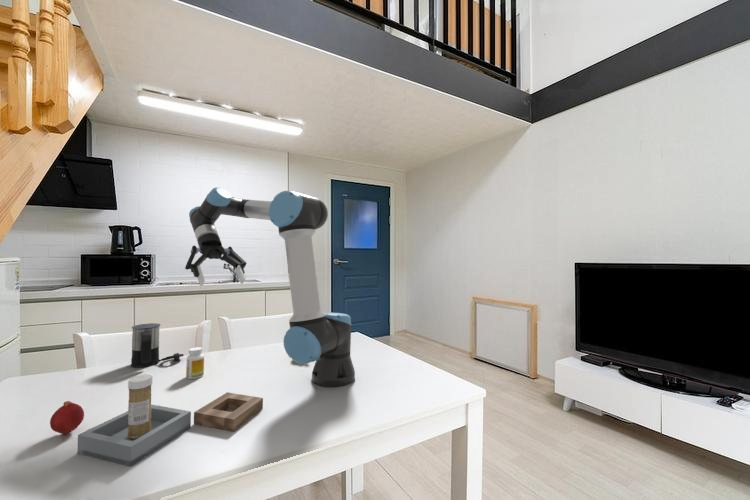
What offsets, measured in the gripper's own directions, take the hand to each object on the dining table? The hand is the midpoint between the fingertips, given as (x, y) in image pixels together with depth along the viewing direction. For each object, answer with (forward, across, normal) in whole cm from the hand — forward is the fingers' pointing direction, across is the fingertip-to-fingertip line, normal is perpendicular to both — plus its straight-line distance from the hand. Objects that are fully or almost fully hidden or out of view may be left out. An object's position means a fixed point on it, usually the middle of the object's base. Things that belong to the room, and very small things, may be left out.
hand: (223, 282), depth 108 cm
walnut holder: (+42, +8, -6) cm, 43 cm away
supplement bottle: (+17, +5, -31) cm, 36 cm away
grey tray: (+39, +27, -9) cm, 48 cm away
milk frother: (0, +11, -48) cm, 50 cm away
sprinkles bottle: (+38, +27, -8) cm, 48 cm away
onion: (+29, +38, -19) cm, 51 cm away
